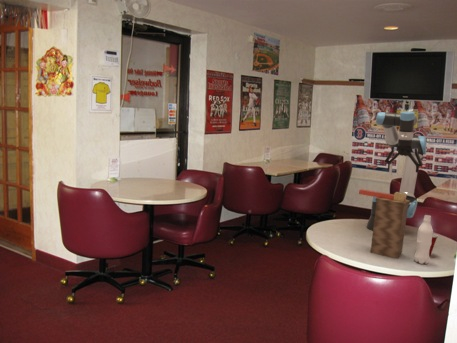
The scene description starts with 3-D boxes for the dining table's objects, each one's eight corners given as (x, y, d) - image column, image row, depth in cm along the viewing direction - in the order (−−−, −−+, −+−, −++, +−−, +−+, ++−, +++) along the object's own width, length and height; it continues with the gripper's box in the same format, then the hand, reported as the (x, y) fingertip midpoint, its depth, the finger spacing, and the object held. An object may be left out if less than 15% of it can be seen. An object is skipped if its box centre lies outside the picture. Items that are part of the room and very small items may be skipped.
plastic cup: (431, 252, 256) (434, 231, 254) (438, 258, 245) (441, 237, 243) (411, 250, 257) (414, 229, 255) (417, 256, 246) (420, 235, 244)
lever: (358, 194, 252) (359, 187, 251) (361, 193, 256) (362, 186, 255) (403, 202, 239) (404, 194, 238) (405, 200, 243) (406, 193, 242)
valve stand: (369, 252, 248) (375, 198, 244) (375, 247, 257) (381, 195, 253) (397, 259, 240) (404, 203, 235) (402, 254, 249) (409, 200, 244)
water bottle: (419, 264, 233) (425, 217, 229) (410, 260, 240) (417, 213, 236) (431, 264, 235) (438, 217, 231) (423, 260, 242) (429, 214, 238)
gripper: (381, 138, 261) (378, 174, 265) (427, 141, 247) (423, 180, 251) (385, 136, 267) (382, 172, 271) (430, 140, 252) (427, 177, 257)
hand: (402, 176), depth 261 cm, fingers open, 13 cm apart
